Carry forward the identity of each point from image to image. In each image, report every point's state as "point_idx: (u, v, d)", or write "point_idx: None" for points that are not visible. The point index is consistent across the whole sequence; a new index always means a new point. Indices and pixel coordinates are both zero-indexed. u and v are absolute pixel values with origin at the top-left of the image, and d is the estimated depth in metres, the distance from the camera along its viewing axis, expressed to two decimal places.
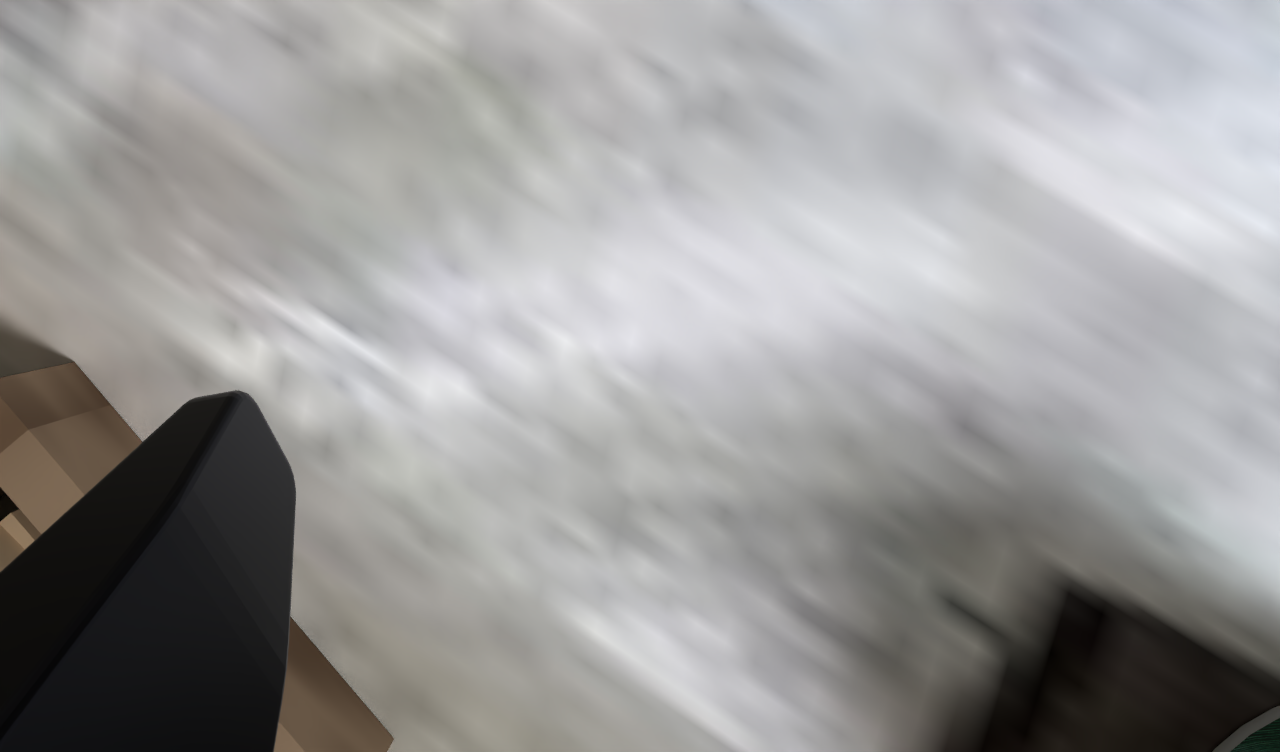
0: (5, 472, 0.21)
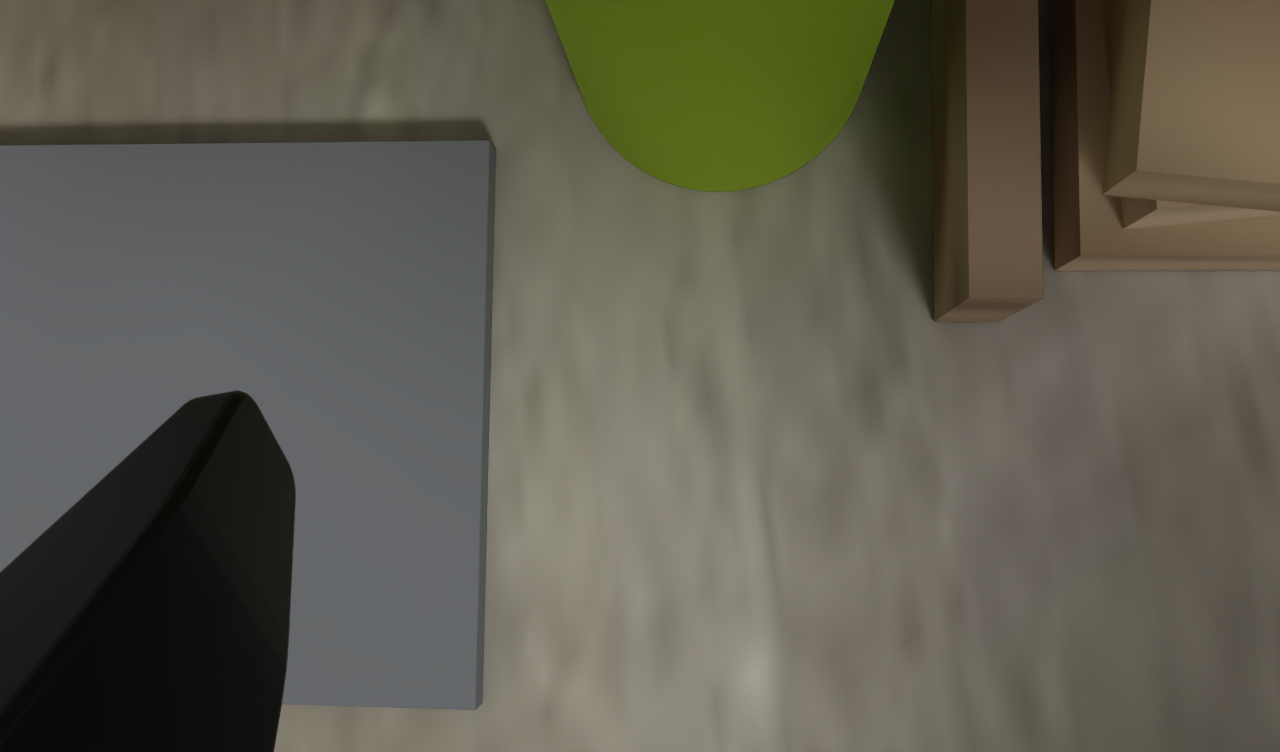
0: None
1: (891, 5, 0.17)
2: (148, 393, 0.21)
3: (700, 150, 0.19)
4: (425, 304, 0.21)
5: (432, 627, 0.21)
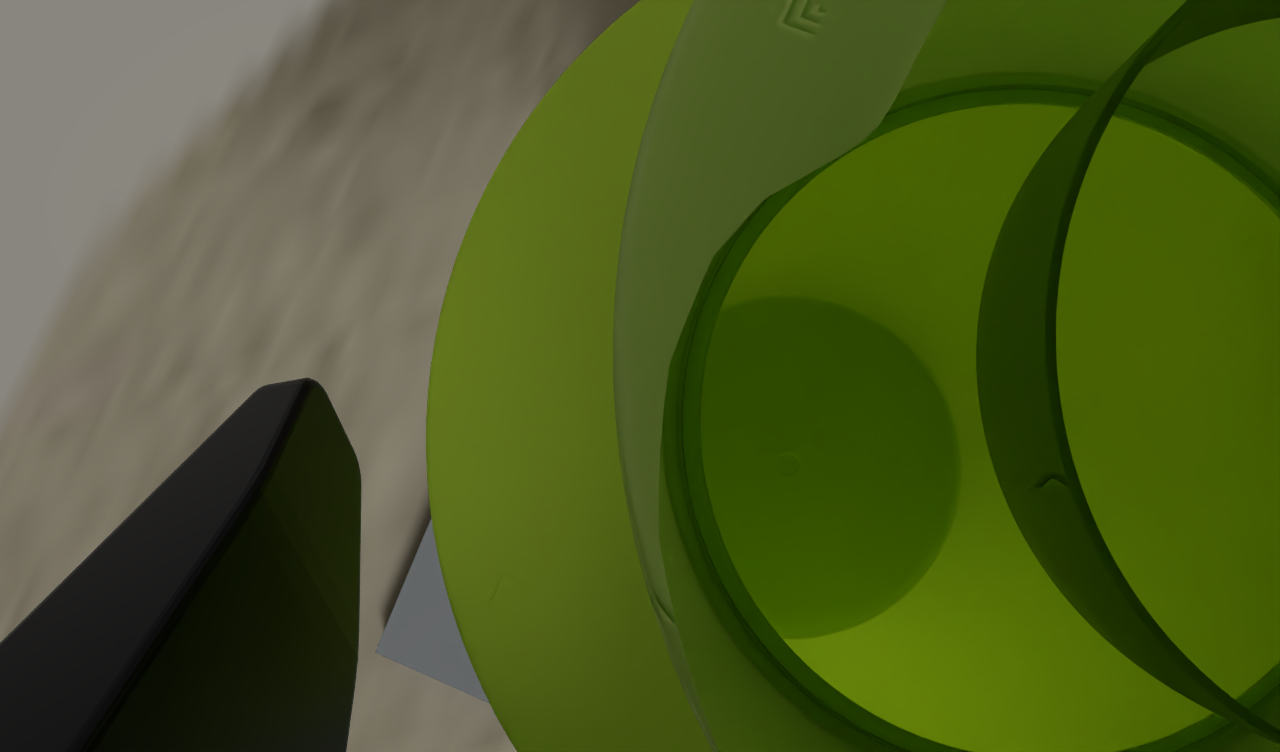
0: None
1: (1034, 566, 0.13)
2: None
3: None
4: None
5: None
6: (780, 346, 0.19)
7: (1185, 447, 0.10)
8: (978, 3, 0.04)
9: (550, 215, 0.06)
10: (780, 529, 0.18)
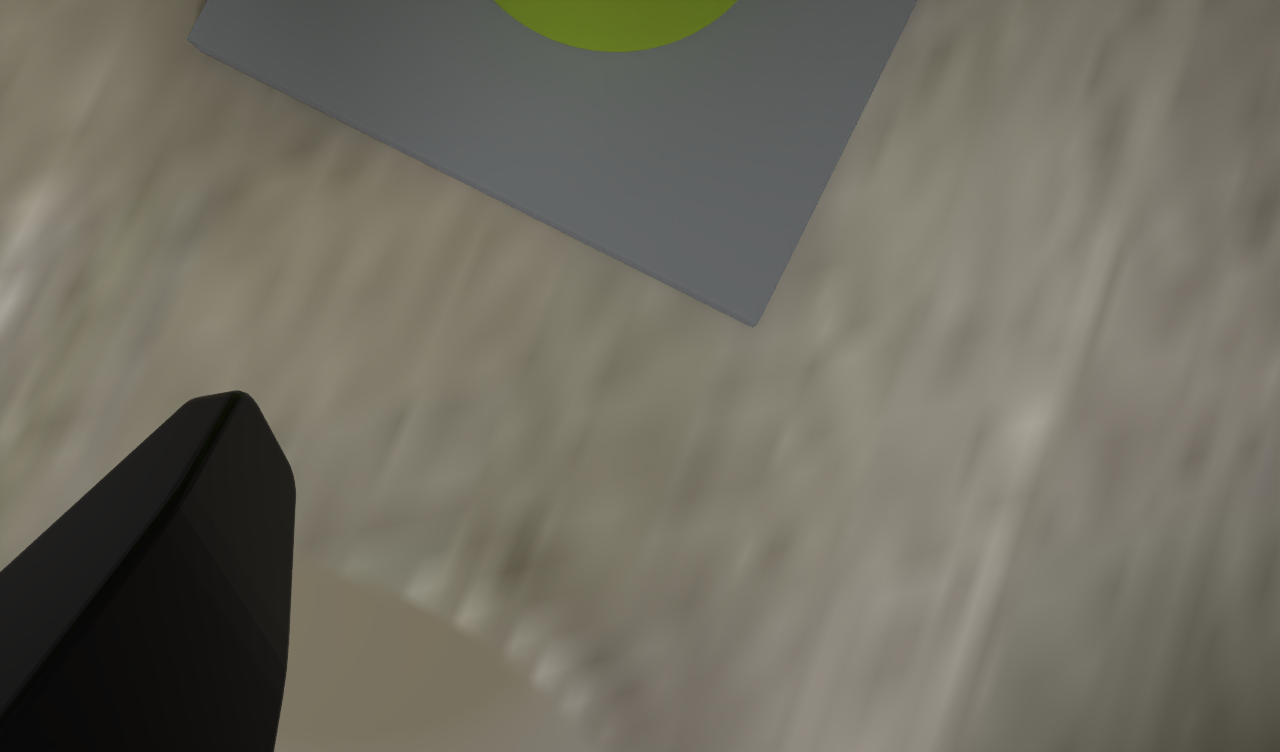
0: None
1: None
2: None
3: None
4: None
5: (750, 224, 0.19)
6: None
7: None
8: None
9: None
10: None
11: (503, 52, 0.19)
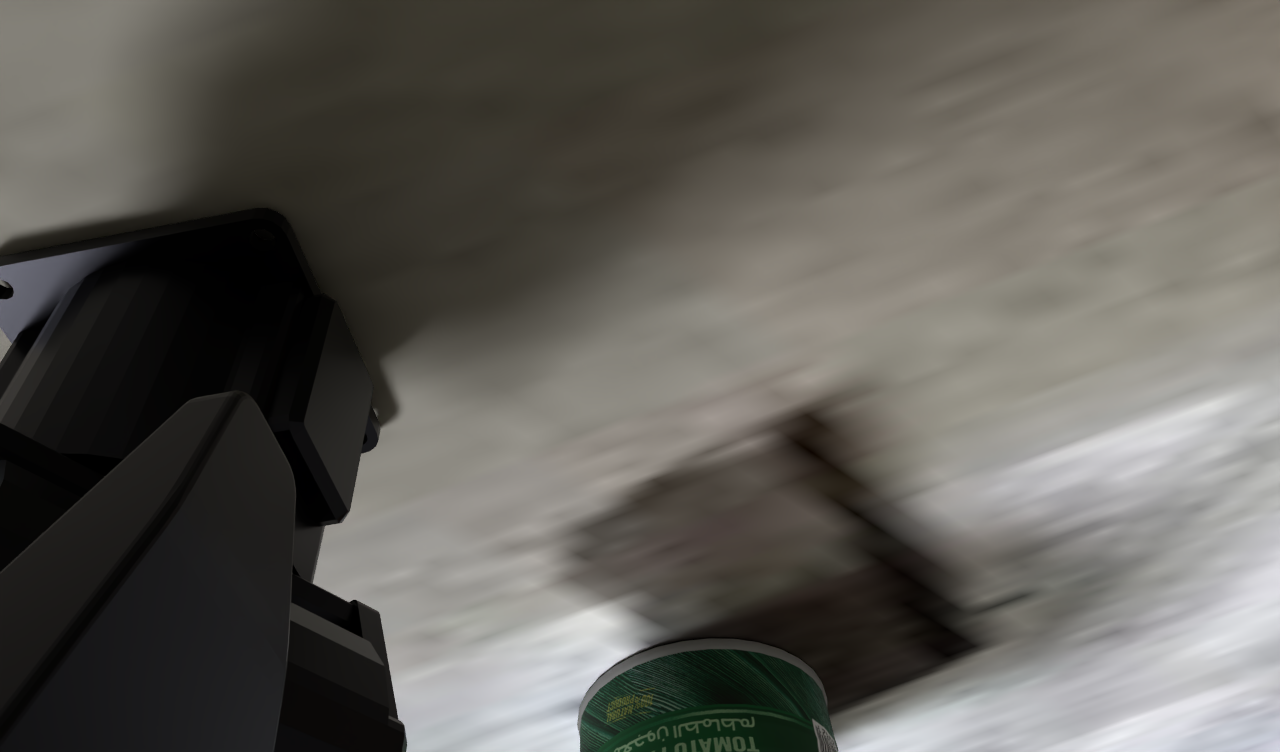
0: None
1: None
2: None
3: None
4: None
5: None
6: None
7: None
8: None
9: None
10: None
11: None
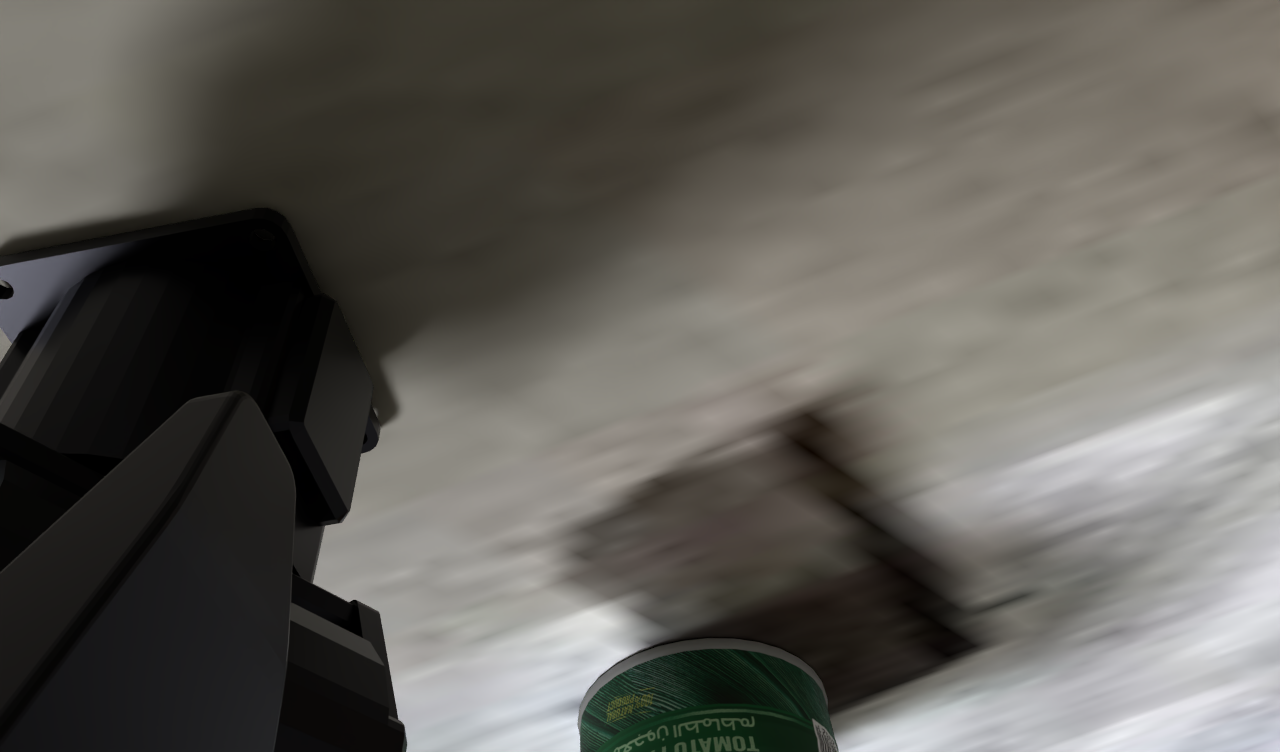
0: None
1: None
2: None
3: None
4: None
5: None
6: None
7: None
8: None
9: None
10: None
11: None
